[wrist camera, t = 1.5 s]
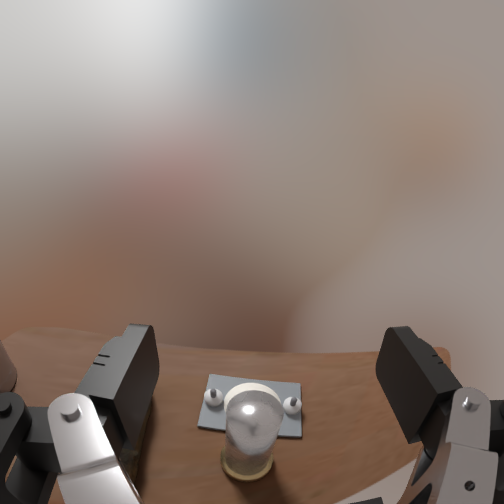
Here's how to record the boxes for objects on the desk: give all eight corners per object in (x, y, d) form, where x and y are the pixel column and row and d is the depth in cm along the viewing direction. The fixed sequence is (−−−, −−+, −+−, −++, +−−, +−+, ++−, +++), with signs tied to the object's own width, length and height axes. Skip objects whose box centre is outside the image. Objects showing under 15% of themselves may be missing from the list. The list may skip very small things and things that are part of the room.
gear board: (197, 426, 33) (196, 417, 32) (209, 375, 41) (209, 364, 40) (300, 437, 32) (305, 428, 31) (299, 385, 40) (303, 374, 39)
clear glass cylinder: (217, 478, 27) (215, 436, 21) (224, 437, 32) (225, 382, 26) (270, 484, 26) (289, 443, 21) (272, 442, 32) (289, 388, 26)
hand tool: (137, 509, 21) (126, 499, 19) (104, 499, 21) (90, 487, 19) (168, 388, 38) (164, 367, 36) (141, 383, 38) (136, 362, 36)
